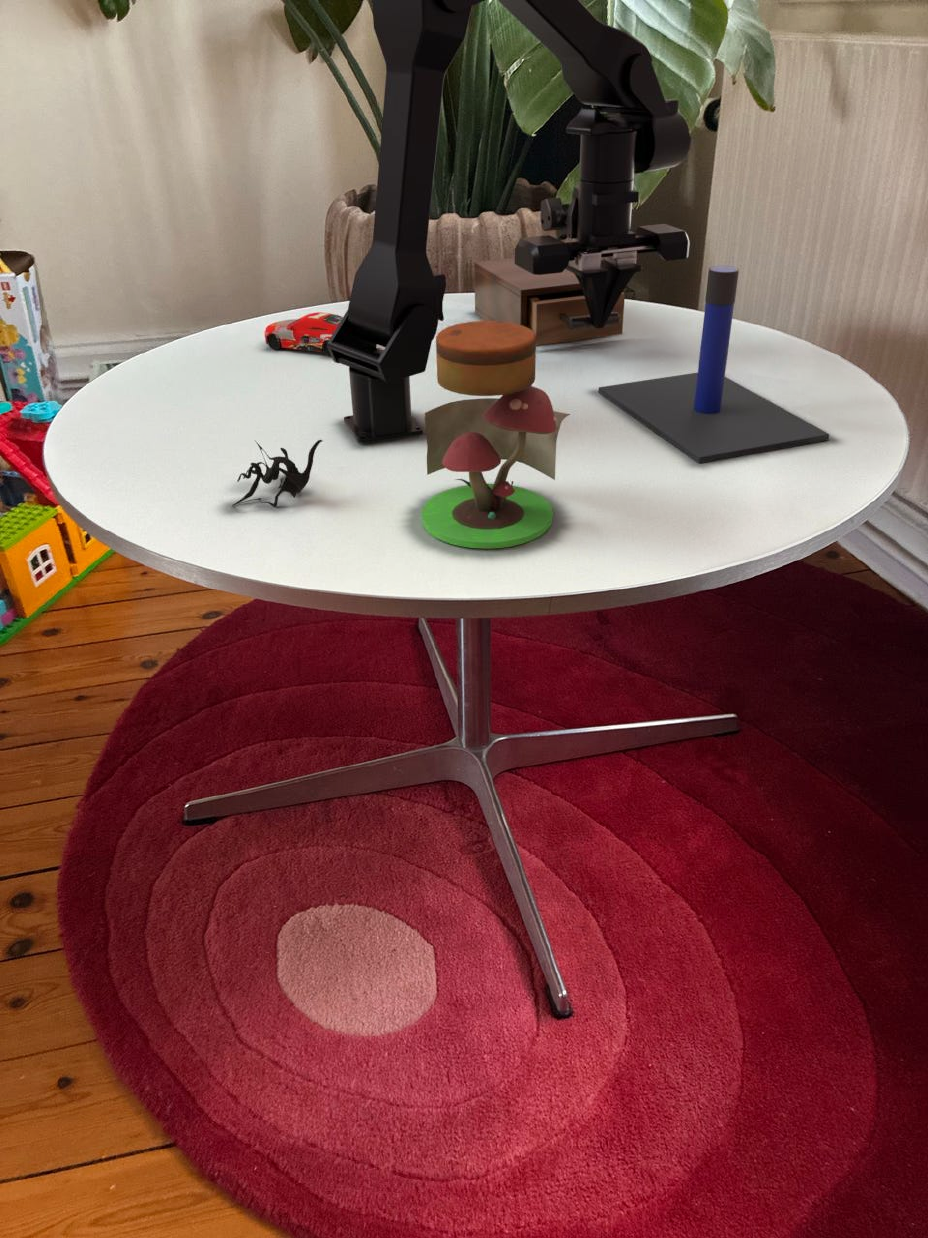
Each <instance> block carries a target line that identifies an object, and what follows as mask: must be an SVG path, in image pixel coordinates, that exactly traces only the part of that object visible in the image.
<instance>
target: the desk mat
mask: <svg viewBox="0 0 928 1238" xmlns="http://www.w3.org/2000/svg"><path fill="white" fill-rule="evenodd" d="M697 375H698V372H691V373H685V374H679V375H672V376H666V377H658V378H652V379H646V380H638V381H632V382H624V383H619V384H611V385H605V386H599V387H598V391H597V392H598V393H599V394H600V395H601V396H603V397H604V398H606V400H608V401H610V402H611V403H613V404H614V405H615V406H617V407H619V409H621V410H622V411H624V412H625V413H626V414H628V415H630V416H631V417H632V418H634V419H635V420H637V421H638V422H640V424H642V425H644V426H645V427H647V428H648V429H650V430H651V431H653V432H654V434H657V435H658V436H659V437H661V438H662V439H664V440H665V441H666V442H668V443H669V444H670V445H672V446H674V447H675V448H677V450H680V451H681V452H682V453H683V454H685V455H687V457H690V459H692V460H694V461H695V462H696V463H698V464H701V463H707V462H712V461H718V460H724V459H729V458H735V457H740V456H741V457H742V456H745V455H751V454H757V453H758V454H759V453H763V452H769V451H773V450H779V449H785V448H790V447H795V446H801V445H806V444H813V443H818V442H824V441H829V439H830V433H828V432H827V431H825V430H823V429H821V428H819V427H818V426H816V425H814V424H812V423H810V422H808V421H806V420H805V419H803V418H801V417H799V416H798V415H795V414H794V413H792V412H790V411H788V410H786V409H784V408H783V407H781V406H779V405H777V404H775V403H774V402H772V401H770V400H768V399H766V398H765V397H763V396H761V395H759V394H758V393H755V392H754V391H752V390H750V389H748V388H747V387H745V386H742V385H741V384H739V383H737V382H735V381H733V380H732V379H730V378H728V377H726V376H725V378H724V386H723V394H722V401H721V409H720V411H719V412H717V413H711V414H707V413H700V412H697V411H696V410H694V401H695V393H696V384H697Z"/></svg>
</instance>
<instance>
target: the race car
mask: <svg viewBox="0 0 928 1238" xmlns="http://www.w3.org/2000/svg"><path fill="white" fill-rule="evenodd" d="M343 317H344V316H342V315H338V314H335V313H331V312H319V311H318V312H311V313H308V314H305V315H304V316H301V317H299V318H293V319H285V320H279V321H275V322H272V323H270V324H268V325H267V326H266V327H265V330H264V342H265V344H266V345H268V346H269V348H270V349H272V350H273V351H278V350H280V349H282V348H284V349H292V350H300V351H309V352H316V353H323V352H324V354H325V355H326V356H328V357H329V358H330V357H331V358H332V356H331V354H330V352H329V349H328V347H327V343H328V341H329V339H330V338H331V336H332V334H333V333H334V331H335V330H336V328H337V326H338V325H339V323H340V322H341V320H342V318H343Z"/></svg>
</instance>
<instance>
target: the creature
mask: <svg viewBox="0 0 928 1238" xmlns="http://www.w3.org/2000/svg"><path fill="white" fill-rule="evenodd" d="M322 442H323V440H322V439H318V440H316V442H314V444H313V445H312V446H311V447H310V449H309V452H308V455H307V464H306V467H305V469H304V470H303V472H300V471H299V468H298V467H297V466H296V463H295V462H293V460H291V459H289V455H288V451H287V449H285V448H284V447H280V448H279V449H280V451H281V453H283V454H284V456H278V455H277V456H274V457H270V456H269V455H268V454H267V451H266V450H264V448H263V447H262V446H261V445H260V444H259V443H258V442H257V441H255V443H256V445H257V446H258V448H259V451H260V452H261V454H262V457H263V461H264V462H262V461H259V462H251V463H250V466H249V467H248V469H247V470H246V473H245V472H241V473H240V474H239V475H238V479H237V481H236V483H239V482H240V480H241V479H243V480H244V479H247V480H249V479H251V477H252V474H253V475H256V478H255V480H254V481H253V484H252V485H251V487H250V489H249V491H248V492H247V493H246V494H245V495H243V497H242V498H241V499H239V500H238V501H236V502H235V503H233V504H232V505H231V507H233V506H235V505H236V506H237V505H239V504H242V503H247V502H252V501H260V503H262V504H269V505H270V506H272V507H274V508H275V507H278V501H279V497H280V495H281V494H282V493H284V492H286V493H289V494H290V495H291V496H292V498H293V499H295V498H296V496H297V494H299V493H301V492H302V491H303V490H304V488H305V487H306V486H307V484H308V483H309V480H310V476H311V472H312V468H313V464H314V457H315V452H316V450H317V448H318V446H319V445H320V444H321V443H322ZM263 452H264V454H265V455H266V456H267V458H268V459H269V460H270V461H273V462H272V465H271V466H270V467H269V466H268V463H267V461H266V459H265V456H264V454H263ZM280 464H283V465H284V466H285V468H286V469H284V468H282V467H280ZM260 465H264V467H265V472H264V473H263V471H262V467H261V466H260ZM280 472H281V473H282V474H283V475H284V476H282V477H281V478H280V483H279V486H278V487H277V489H278V490H279V491H278V492H277V493H276V494H275V496H274V502H270V501H261V500H262V497H258V498H253V499H250V500H247V499H249V498H252V496H254V494H255V492H257V489H258V487H259V484H260V481H262V482H263V483H264V484H267V485H269V484H271V483H272V482H273V481H277V480H278V479H279V476H280ZM283 478H284V480H283Z"/></svg>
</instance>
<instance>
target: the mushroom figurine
mask: <svg viewBox="0 0 928 1238" xmlns="http://www.w3.org/2000/svg"><path fill="white" fill-rule="evenodd" d="M435 351H436V352H435V353H436V379H437V384H438V385H439V386H440V387H441V388H443V389H444V390H447V391H449V392H451V393H455V394H458V395H465V396H476V397H491V398H471V399H470V398H469V399H461V400H455V401H451V402H448V403H444V404H442V405H439V406H437V407H434V408H432V409H430V410H427V411H426V412H425V413H424V429H425V430H424V431H425V438H426V445H427V446H426V447H427V449H426V450H427V451H426V475H427V476H428V475H431V474H433V473H435V472H438V471H441V470H443V469H446V470H447V471H451V472H454V473H455V472H456V473H468V478H469V479H468V480H469V481H467V480H466V479H463V478H457V479H455V481H461V482H463V483H465V484H466V485H460V486H456V487H453V488H452V487H451V488H450V489H446V490H444V491H441V492H439V493H437V494H436V495H434V496H432V497H431V498H429V499H428V500H427V501H426V502H425V504H424V505H423V507H422V509H421V523H422V526H423V527H424V529H425V530H426V531H427V533H429V534H430V535H431V536H433V537H434V538H435V539H438V540H440V541H442V542H444V543H447V544H450V545H454V546H457V547H458V546H459V547H462V548H471V549H503V548H509V547H514V546H518V545H519V546H520V545H522V544H525V543H526V544H527V543H528V542H530V541H533V540H536V539H537V538H539V537H540V536H542V535H543V534H545V533H546V532H547V531H548V530H549V528H550V527H551V525H552V522H553V512H554V511H553V507H552V505H551V504H550V502H549V501H547V499H546V498H544V496H542V495H540V494H538V493H537V492H535V491H532V490H530V489H527V488H524V487H520V486H515V485H514V481H513V480H511V483H510V482H509V481H508V480H507V479H508V475H509V472H510V469H511V468H512V467H513V466H514V464H516V462H518V463H521V464H524V465H526V466H529V467H530V468H532V469H534V470H536V471H538V472H540V473H541V474H543V475H545V476H546V477H549V478H550V479H551V480H554V481H556V463H557V462H556V461H557V441H558V436H559V431H560V429H561V428H560V427H561V424H562V422H563V421H564V420H565V419H566V418H567V417H569V416H570V415H571V413H567V412H561V411H555V410H554V408H553V404H552V401H551V399H550V396H549V395H548V394H547V392H546V391H545V390H543V389H541V388H539V387H536V386H533V384H534V383H535V382H536V365H537V364H536V359H537V358H536V357H537V355H536V354H537V345H536V336H535V333H534V332H533V331H532V330H531V329H529V328H527V327H525V326H522V325H519V324H515V323H510V322H501V321H485V320H477V321H475V320H474V321H467V322H460V323H457V324H454V325H452V324H451V325H449V326H447V327H445V328H443V329H441V330H440V331H439V332H437V335H435ZM495 396H499V398H494V397H495ZM492 397H493V398H492ZM502 460H506V461H504V463H502V464H501V462H502ZM499 465H501V466H500V468H499V470H498V472H497V475H496V477H495V479H494V481H493V483H487V481H486V479H485V477H484V475H483V472H489V471H492V470H495V469H496V468H498V467H499Z"/></svg>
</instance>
